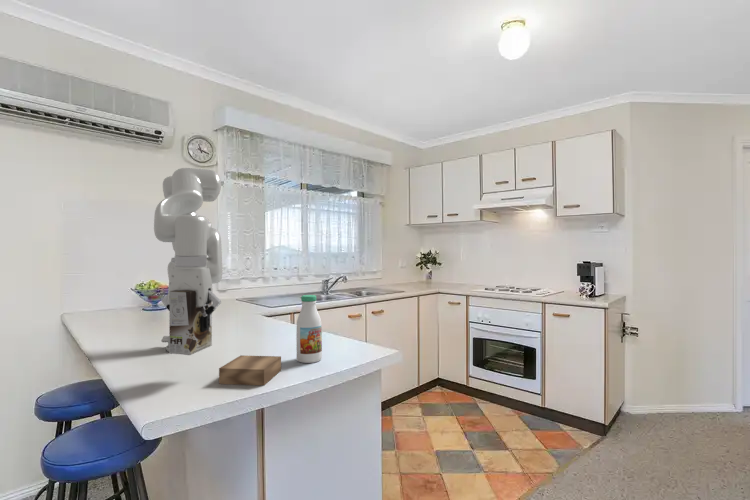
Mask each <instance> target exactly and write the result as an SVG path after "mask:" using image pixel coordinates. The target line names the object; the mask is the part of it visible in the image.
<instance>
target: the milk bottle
mask: <svg viewBox="0 0 750 500" xmlns="http://www.w3.org/2000/svg"><path fill="white" fill-rule="evenodd" d="M300 299H301V309H300V312H299V314H298V315H297V320H296V335H295V336H296V338H295V339H296V361H297V362H298V363H300V364H301V363H303V364H312V363H318V362H319V361H321V360H322V359H323V348H322V347H323V341H322V340H323V339H322V337H323V335H322V333H323V331H322V319H321V315H320V314H319V312H318V309H317V305H316V303H317V295H315V294H303V295H302V296H301V298H300Z"/></svg>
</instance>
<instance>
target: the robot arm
mask: <svg viewBox="0 0 750 500" xmlns="http://www.w3.org/2000/svg"><path fill="white" fill-rule="evenodd" d="M221 189H222V182H221V178H220V175H219V174H218V172H217V171H215V170H213V169H205V168H193V167H192V168H191V167H181V168H178V169H175V171H174V172H173V173H172V175H170V176H166V177H165V178H164V179H163V182H162V192H163V196H164V199H162V200H160V201H159V202H158V204H157V206H156V208H155V210H154V218H153V222H154V223H153V231H154V236H155V238H156V239H157V240H158V241H160V242H163V243H171V245H172V246H171V247H172V250H173V251H174V257H171V259H170V261H169V263H168V265H167V276H168V289H167V294H166V295H165V296H164V297H163V298H162V299H161V302H162V303H163V305H164V306H165V307H166V309H167V310H168V311H169V312H170V291H180V290H190V291H196V307H200V311H201V314H202V317H200V331H201V332H205V331H207V330H209V327H210V315H211V314H212V315H213V312H214V311H216V309H217V308H218V307H219V306H220V304H222V300H221V299H220V298H219V297H218V296H217V295H216V294H215V293H213V284H218V283H220V282H221V281H222V278H223V251H222V250H223V249H222V238H221V234H220V231H219V230H218V229H216V228H214V227H212V222H211V221H210V220H209V219H208V218H207V217H206V216H203V215H199V213H198V212H197V211H198V210H200V209H201V208H202V205H203V203H204V202H206V203H207V202H209V203H210V202H211V203H213V202H215V201H216V200H217V199H218V197H219V195H220V192H221V191H222V190H221ZM210 303H212V305H211V306H209V304H210ZM161 343H167V345H166V347H165V350H166V352H169V335H163V336H162V338H161Z"/></svg>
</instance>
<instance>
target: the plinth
mask: <svg viewBox="0 0 750 500" xmlns="http://www.w3.org/2000/svg"><path fill="white" fill-rule="evenodd" d="M281 371H282V356H279V355H278V356H274V355H273V356H272V355H241V354H240V355H239V356H237V357H236V358H234V359H232V360H230V361H228V362H227V363H225V364H224V365H222V366H220V367H219V368H218V376H219V377H218V382H219V383H218V384H219V385H239V386H240V385H242V386H244V385H245V386H265V385H267V384H268V383H270V381H271V380H272V379H274V378H275V376H277V375H278V374H279V373H280V372H281Z"/></svg>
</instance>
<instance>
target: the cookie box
mask: <svg viewBox="0 0 750 500" xmlns="http://www.w3.org/2000/svg"><path fill="white" fill-rule="evenodd" d="M212 304H213V302H212V303H210V304H209V306H211V305H212ZM212 315H213V313H212V314H211V315H210V327H209V330H207V331H205V332H201V331H200V317H202V314H201V311H200V307H196V291H190V290H180V291H170V311H169V319H168V320H169V321H168V322H169V325H168V326H169V327H168V328H169V334H168V336H169V354H174V355H185V356H191V355H194V354H196V353H199V352H200V351H204V350H205V349H207V348H210V347H211V346H213V340H212V338H213V334H212V333H213V328H212V327H213V325H212V323H213V322H212V321H213V320H212V319H213V317H212Z"/></svg>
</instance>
